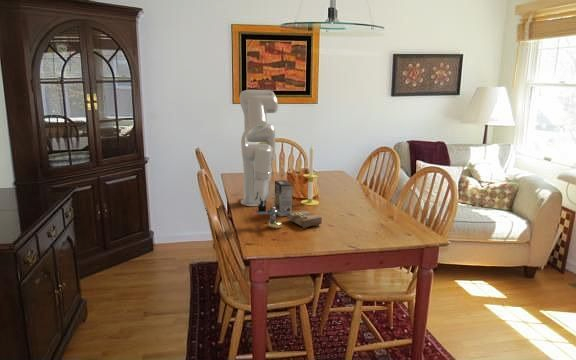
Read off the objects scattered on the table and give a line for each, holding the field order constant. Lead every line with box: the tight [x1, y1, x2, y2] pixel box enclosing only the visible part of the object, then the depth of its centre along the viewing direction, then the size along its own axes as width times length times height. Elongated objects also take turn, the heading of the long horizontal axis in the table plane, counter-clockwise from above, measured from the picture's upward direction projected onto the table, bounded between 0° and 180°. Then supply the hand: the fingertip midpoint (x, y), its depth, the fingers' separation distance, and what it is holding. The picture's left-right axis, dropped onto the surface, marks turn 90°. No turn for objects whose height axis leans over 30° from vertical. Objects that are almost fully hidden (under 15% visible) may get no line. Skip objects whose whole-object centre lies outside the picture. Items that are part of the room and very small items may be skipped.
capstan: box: [253, 205, 289, 229], centre depth 210 cm, size 16×15×9 cm
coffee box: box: [274, 179, 294, 217], centre depth 230 cm, size 9×6×16 cm
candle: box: [300, 144, 320, 206], centre depth 247 cm, size 10×10×32 cm
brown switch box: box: [286, 209, 323, 230], centre depth 216 cm, size 14×10×6 cm
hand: (262, 213), depth 212 cm, fingers closed
